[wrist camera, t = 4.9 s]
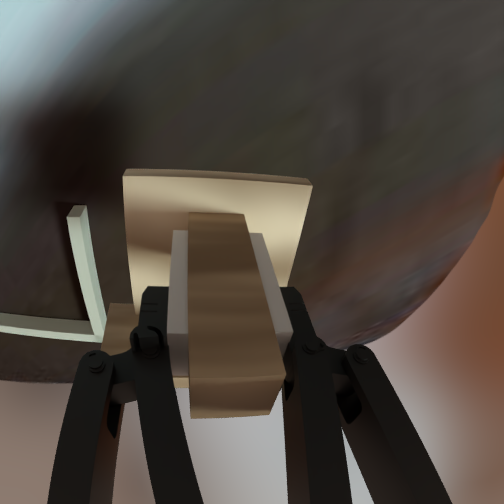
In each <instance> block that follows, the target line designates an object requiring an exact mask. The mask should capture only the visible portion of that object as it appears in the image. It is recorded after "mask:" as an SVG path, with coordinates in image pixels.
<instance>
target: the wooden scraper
mask: <svg viewBox="0 0 504 504" xmlns="http://www.w3.org/2000/svg"><path fill="white" fill-rule="evenodd" d="M312 187H313V186H312V184H311V183H310V182H309V180H308V179H307V178H297V177H286V176H275V175H263V174H250V173H235V172H218V171H198V170H170V169H126V171H125V173H124V175H123V195H124V212H125V226H126V238H127V249H128V259H129V268H130V277H131V285H132V293H133V300H134V304H115V303H110V307H109V311H108V316H107V321H106V325H105V330H104V335H103V341H102V346H101V351H104V352H106V353H108V354H109V355H110V356H112V355H116V354H120V353H123V352H126V351H127V350H129V349H130V348H131V344H130V339H129V338H130V333H131V331H132V330H133V329H134V328H135V327H137V326H138V321H139V313H140V306H141V298H142V293H143V292H144V291H145V289H146V288H147V286H169V279H170V264H171V251H172V239H173V230H188V274H187V288H188V374H189V376H173V375H172V376H173V381H174V386H175V388H189V395H190V396H189V397H190V414H191V419H192V418H193V419H196V418H229V417H246V416H259V415H269V414H270V412H271V409H272V407H273V405H274V402H275V400H276V398H277V395H278V393H279V391H280V388H281V386H282V384H283V381H284V379H285V376H286V371H285V367H284V363H283V360H282V356H281V352H280V348H279V344H278V341H277V337H276V333H275V329H274V325H273V322H272V318H271V314H270V310H269V306H268V303H267V299H266V295H265V291H264V287H263V284H262V280H261V276H260V272H259V269H258V265H257V261H256V257H255V253H254V250H253V246H252V242H251V238H250V234H249V233H262V234H263V238H264V241H265V244H266V247H267V250H268V253H269V256H270V259H271V262H272V265H273V269H274V272H275V275H276V278H277V281H278V284H279V287H287V283H288V280H289V276H290V272H291V268H292V265H293V261H294V257H295V254H296V250H297V246H298V242H299V238H300V234H301V231H302V227H303V223H304V219H305V215H306V211H307V207H308V203H309V199H310V195H311V191H312Z"/></svg>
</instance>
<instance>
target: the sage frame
mask: <svg viewBox="0 0 504 504" xmlns="http://www.w3.org/2000/svg"><path fill="white" fill-rule="evenodd" d="M67 222H68V228H69V234H70V239H71V244H72V249H73V254H74V259H75V264H76V268H77V272H78V277H79V281H80V285H81V289H82V293H83V297H84V301H85V304H86V308H87V312H88V315H89V319H90V321H81V320H68V319H56V318H44V317H34V316H24V315H15V314H7V313H0V332H6V333H13V334H21V335H29V336H37V337H46V338H55V339H65V340H77V341H89V342H102V341H103V335H104V330H105V325H106V321H107V318H106V314H105V310H104V305H103V301H102V296H101V292H100V287H99V282H98V277H97V272H96V266H95V261H94V255H93V249H92V243H91V236H90V229H89V222H88V214H87V206H86V205H74V206H73V208H72V209H71V211H70V213H69V214H68V216H67Z"/></svg>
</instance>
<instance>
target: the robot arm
mask: <svg viewBox="0 0 504 504" xmlns="http://www.w3.org/2000/svg"><path fill="white" fill-rule="evenodd" d="M249 234H250V238H251V242H252V246H253V250H254V253H255V257H256V261H257V265H258V269H259V272H260V276H261V280H262V284H263V287H264V291H265V295H266V299H267V303H268V306H269V310H270V314H271V318H272V322H273V325H274V329H275V333H276V337H277V341H278V344H279V348H280V352H281V356H282V360H283V363H284V367H285V371H286V376H285V379H284V381H283V384H282V386H281V388H282V403H283V418H284V435H285V452H286V472H287V491H288V504H352V498H351V489H350V482H349V474H348V467H347V461H346V453H345V447H344V440H343V434H342V429H343V431H344V434H345V436H346V438H347V441H348V443H349V445H350V448H351V450H352V452H353V455H354V457H355V459H356V462H357V464H358V466H359V469H360V471H361V474H362V476H363V478H364V481H365V483H366V485H367V488H368V490H369V492H370V495H371V497H372V500H373V502H374V504H452V502H451V500H450V498H449V496H448V494H447V492H446V489H445V488H444V485H443V483H442V481H441V479H440V477H439V475H438V473H437V471H436V469H435V467H434V465H433V463H432V461H431V459H430V457H429V455H428V453H427V451H426V449H425V447H424V445H423V443H422V441H421V439H420V437H419V435H418V433H417V431H416V429H415V427H414V426H413V424H412V422H411V420H410V418H409V416H408V414H407V412H406V410H405V409H404V407H403V405H402V403H401V401H400V400H399V397H398V396H397V394H396V392H395V390H394V388H393V386H392V385H391V383H390V381H389V379H388V377H387V376H386V374H385V372H384V370H383V369H382V367H381V365H380V363H379V362H378V360H377V358H376V356H375V354H374V353H373V352H372V351H371V349H369V348H368V347H366V346H364V345H361V344H354V345H352V346H350V347H349V348H348V349H347V351H345V350H340V349H335V348H331V347H328V346H326V344H325V343H324V342H323V341H322V340H321V339H320V338H318V337H317V336H316V334H315V331H314V328H313V326H312V323H311V320H310V317H309V315H308V312H307V311H306V310H307V309H306V307H305V304H304V301H303V299H302V296H301V294H300V293H299V292H298V291H297V290H296V289H295V288H294V287H279V284H278V281H277V278H276V275H275V272H274V269H273V265H272V262H271V259H270V256H269V253H268V250H267V247H266V244H265V241H264V238H263V234H262V233H249ZM187 274H188V230H173V239H172V251H171V264H170V279H169V286H147V288H146V289H145V291H144V292H143V293H142V298H141V306H140V313H139V321H138V326H137V327H135V328H134V329H133V330H132V331H131V333H130V338H129V339H130V344H131V348H130V349H129V350H127V351H126V352H123V353H120V354H116V355H112V356H110V355H109V354H108V353H106V352H104V351H101V350H93V351H90V352H87V353H86V354H85V355H84V356H82V358H81V360H80V362H79V365H78V369H77V372H76V375H75V379H74V382H73V386H72V389H71V393H70V396H69V400H68V404H67V408H66V412H65V416H64V419H63V424H62V428H61V432H60V437H59V441H58V446H57V450H56V455H55V460H54V466H53V471H52V477H51V482H50V489H49V495H48V502H47V504H112V497H113V486H114V477H115V468H116V459H117V452H118V445H119V438H120V431H121V424H122V418H123V411H124V405H125V403H128V402H132V401H136V400H137V402H138V409H139V416H140V424H141V430H142V437H143V443H144V448H145V454H146V460H147V465H148V469H149V475H150V480H151V485H152V489H153V494H154V498H155V502H156V504H204V503H203V500H202V497H201V493H200V490H199V486H198V483H197V479H196V475H195V472H194V468H193V464H192V460H191V456H190V453H189V449H188V445H187V440H186V436H185V432H184V428H183V423H182V419H181V415H180V410H179V406H178V401H177V396H176V391H175V386H174V381H173V376H189V374H188V288H187ZM172 375H173V376H172ZM281 388H280V390H281ZM341 427H342V428H341Z"/></svg>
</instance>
